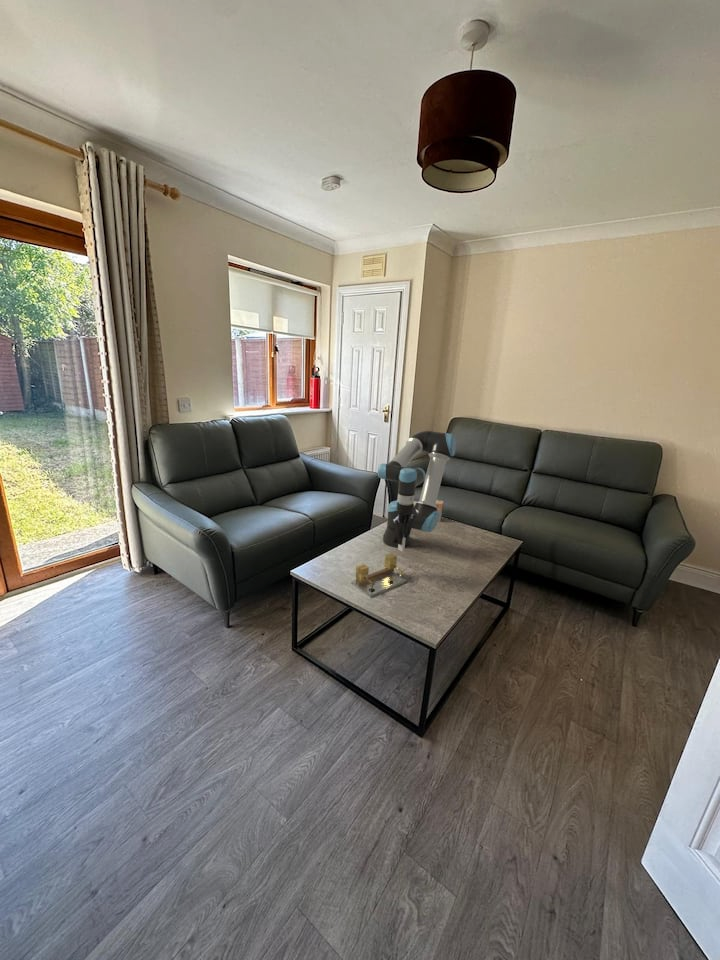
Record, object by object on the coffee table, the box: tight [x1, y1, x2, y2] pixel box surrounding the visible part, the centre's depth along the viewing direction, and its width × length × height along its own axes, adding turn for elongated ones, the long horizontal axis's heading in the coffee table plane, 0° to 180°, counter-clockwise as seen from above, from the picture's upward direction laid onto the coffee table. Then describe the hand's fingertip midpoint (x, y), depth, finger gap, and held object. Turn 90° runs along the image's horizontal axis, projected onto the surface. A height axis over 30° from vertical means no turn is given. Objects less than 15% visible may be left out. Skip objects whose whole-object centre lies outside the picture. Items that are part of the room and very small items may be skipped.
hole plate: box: [351, 571, 407, 598], centre depth 173 cm, size 13×21×1 cm, turn 129°
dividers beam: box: [355, 563, 395, 589], centre depth 172 cm, size 10×21×8 cm, turn 129°
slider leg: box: [384, 552, 404, 578], centre depth 177 cm, size 10×4×8 cm, turn 39°
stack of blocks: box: [413, 499, 444, 523], centre depth 248 cm, size 21×6×12 cm, turn 73°
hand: (401, 550), depth 182 cm, fingers closed
